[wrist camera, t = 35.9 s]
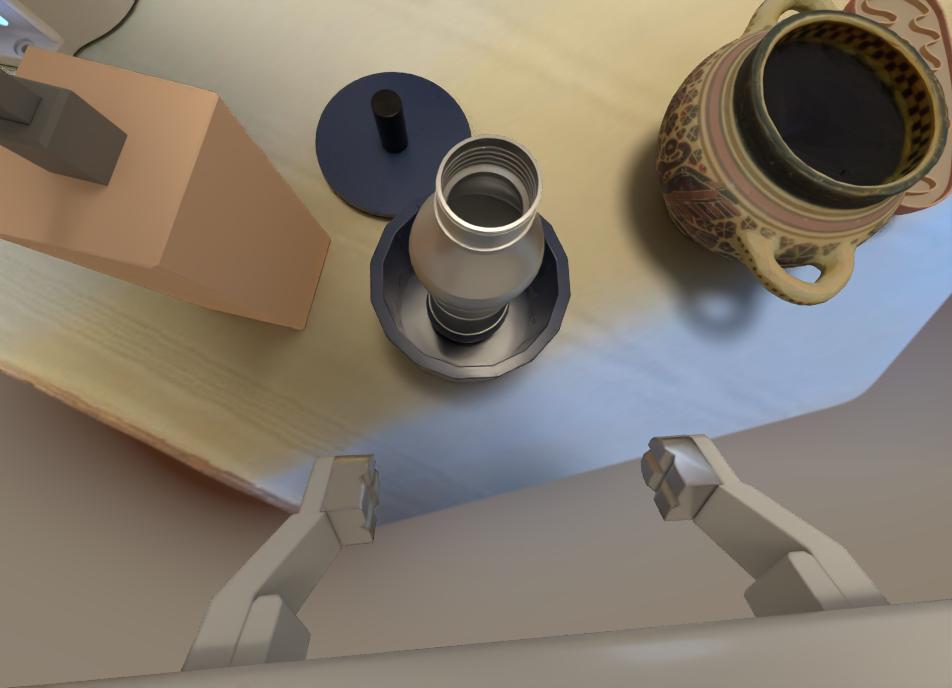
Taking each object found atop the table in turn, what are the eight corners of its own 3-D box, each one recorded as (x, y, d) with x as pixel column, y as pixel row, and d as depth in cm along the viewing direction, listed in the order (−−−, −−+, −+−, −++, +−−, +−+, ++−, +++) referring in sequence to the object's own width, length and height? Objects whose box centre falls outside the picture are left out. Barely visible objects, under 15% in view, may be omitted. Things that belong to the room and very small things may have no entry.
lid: (320, 222, 33) (293, 188, 27) (319, 82, 35) (294, 22, 29) (475, 219, 34) (480, 185, 28) (467, 82, 36) (470, 24, 30)
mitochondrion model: (802, 20, 39) (853, -33, 34) (890, 35, 40) (953, -16, 35) (806, 226, 36) (862, 200, 31) (901, 239, 37) (971, 215, 32)
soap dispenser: (234, 214, 33) (-197, -140, 11) (331, 237, 33) (100, -62, 11) (187, 355, 31) (-441, 270, 9) (289, 378, 31) (-80, 349, 9)
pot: (394, 385, 32) (371, 383, 22) (392, 243, 33) (369, 185, 24) (540, 379, 33) (577, 374, 23) (531, 241, 34) (562, 184, 25)
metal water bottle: (518, 324, 33) (621, 219, 13) (449, 360, 32) (447, 309, 12) (482, 260, 33) (530, 66, 13) (414, 295, 32) (356, 142, 13)
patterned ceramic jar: (744, 342, 37) (985, 321, 23) (594, 299, 32) (786, 239, 18) (759, 122, 41) (977, -14, 26) (626, 52, 36) (808, -164, 21)
